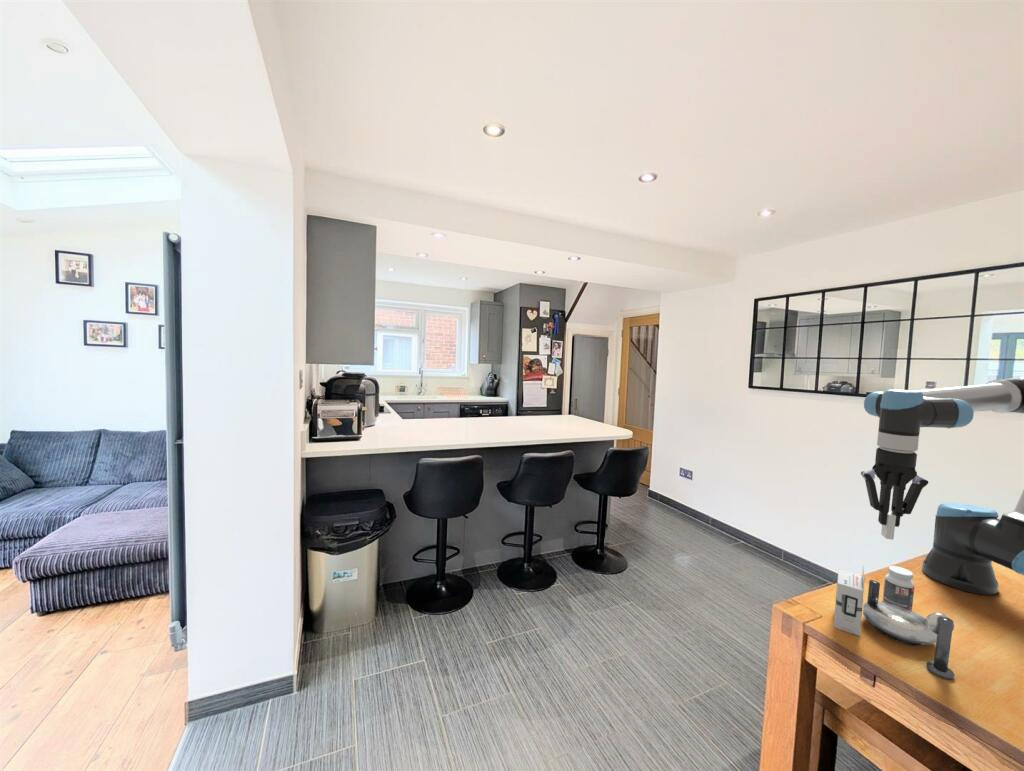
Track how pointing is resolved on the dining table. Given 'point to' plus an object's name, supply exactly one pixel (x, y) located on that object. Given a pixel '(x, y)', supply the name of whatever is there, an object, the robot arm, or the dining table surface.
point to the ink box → (849, 601)
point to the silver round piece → (896, 619)
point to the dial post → (941, 644)
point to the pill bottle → (899, 587)
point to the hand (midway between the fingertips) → (887, 536)
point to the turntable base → (897, 638)
